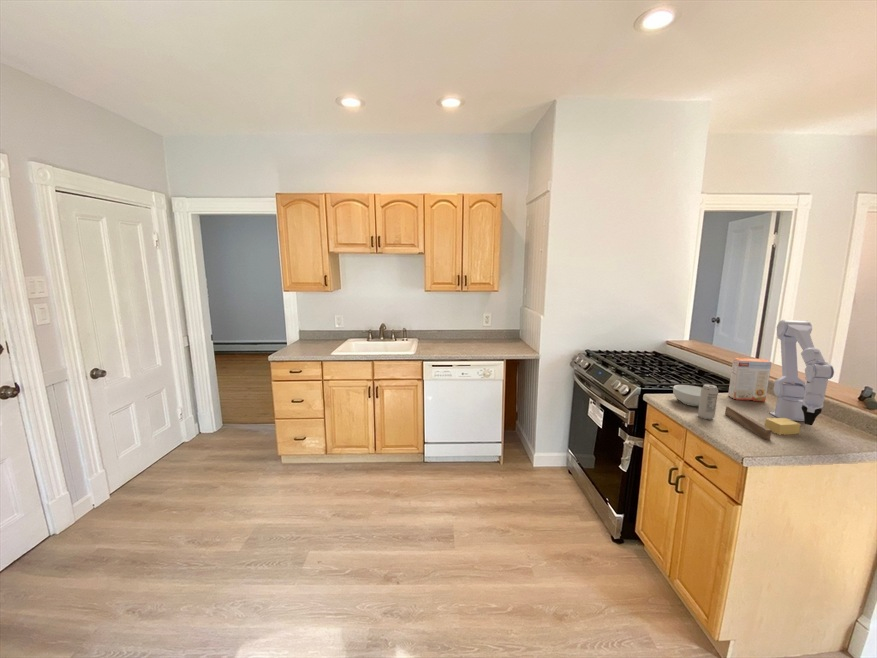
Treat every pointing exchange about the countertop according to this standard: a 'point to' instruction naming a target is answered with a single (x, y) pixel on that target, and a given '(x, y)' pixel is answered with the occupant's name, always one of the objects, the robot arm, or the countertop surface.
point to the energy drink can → (708, 401)
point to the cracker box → (749, 379)
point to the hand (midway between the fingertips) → (808, 424)
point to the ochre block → (782, 426)
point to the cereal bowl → (687, 394)
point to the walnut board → (748, 422)
